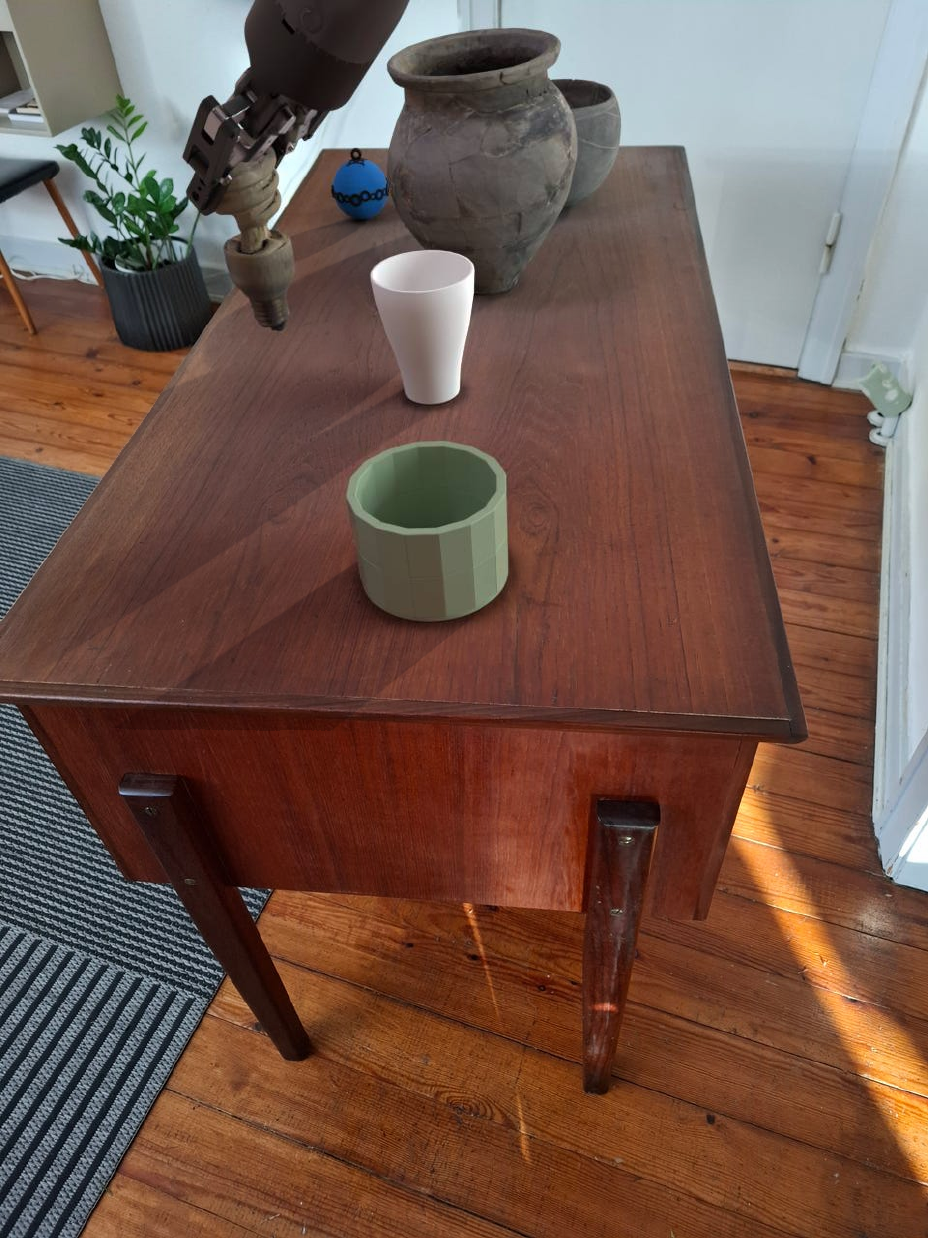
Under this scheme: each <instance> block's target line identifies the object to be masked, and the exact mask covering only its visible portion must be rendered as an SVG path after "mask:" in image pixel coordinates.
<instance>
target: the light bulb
mask: <svg viewBox="0 0 928 1238" xmlns="http://www.w3.org/2000/svg"><path fill="white" fill-rule="evenodd" d="M240 134H241V136H242V137H243V138H244V139H245V140H246V141H247V143H248V144H249V145H250V146H252V145H253V144H254V143H255V142H256V140H254V139H252V138H251V137H250V136H249V135H248V134H247V133H246V132H245V130H244V129H243V128H241V131H240ZM233 157H234V151H232V153H231V156H230V158H229V161H228V163H227V164H229V162H230V161H231V160H232V159H233ZM275 164H276V155H275V151H274V150H273V148H272V146H271V145H270V146H269V148H268V149H267V150H266V151H265V152H264V154H263V155H262V156H261V157H260V159H259V160H258V161H257V162H255V163H245V165H244V166H243V167H242V168H241V170H240V171H239V172H238V173H237V174H236V176H235V177H234V178H233V180H232V182H231V183H230V185H229V187H228V189H227V191H226V192H225V194H224V196H223V198H222V199H221V201H220V203H219V205H218V207H217V208H216V210H215V212H214V213H215V214H217V215H218V216H232V217H233V218H234V220H235V222H236V226H237V229H238V230H239V232H240V233H239V234H237V235H233V236H232V237H231V238H228V239H227V240H226V241H225V243H224V244H223V247H222V248H223V254H224V259H225V263H226V268H227V270H228V273H229V277H230V280H231V282H232V283H233V284H234V286H235V287H236V288H237V289H238V290H240V291H241V292H242V294H243V295H244V296H245V297H247V298H248V300H249V303H250V304H251V308H252V310H253V314H254V319H255V321H257V323H258V325H260V326H261V327H262V328H270V330H272V331H276V332H282V331H283V330H284V329H285V328H286V324H287V322H288V320H289V319H290V318H291V312H290V310H289V307H288V300H287V292H288V290H289V288H290V285H291V284H292V282H293V280H294V276H295V271H296V266H295V259H294V251H293V246H292V241H291V238H290V236H289V235H288V234H287V233H284V232H282V231H279V230H277V229H270V228H269V227H268V223H269V221H270V220H271V219H272V218H273V217H274V216H275V215H276V214H277V213H278V212H279V210H280V208H281V206H282V194H281V192H280V190H279V188H278V186H279V184H280V175H279V172H278V170H277V169H275V168H274V167H275Z"/></svg>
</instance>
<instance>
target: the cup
mask: <svg viewBox="0 0 928 1238" xmlns="http://www.w3.org/2000/svg"><path fill="white" fill-rule="evenodd" d="M370 282H371V287H372V293H373V297H374V301H375V305H376V308H377V312H378V315H379V317H380V321H381V323H382V326H383V330H384V332H385V335H386V337H387V339H388V341H389V344H390V347H391V349H392V352H393V354H394V357H395V359H396V363H397V365H398V369H399V371H400V374H401V380H402V384H403V388H404V393H405V396H406V398H407V399H409V400H411V402H414V403H416V404H421V405H439V404H443V403H446V402H448V401H451V400H452V399H454V398H456V396H458V395H459V393H460V390H461V372H462V371H461V368H462V362H463V356H464V350H465V345H466V340H467V335H468V331H469V326H470V322H471V315H472V306H473V302H474V301H473V299H474V294H475V293H474V266H473V264H472V262H471V261H470V260H469V259H468V258H466V257H464V256H462V255H460V254H456V253H452V252H447V251H440V250H425V249H424V250H413V251H407V252H403V253H399V254H396V255H392V256H390V257H387V258H385V259H383V260H381V261H380V262H378V263H377V264H376V265H374V267H373V269H372V270H371V271H370Z"/></svg>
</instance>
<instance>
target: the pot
mask: <svg viewBox="0 0 928 1238" xmlns="http://www.w3.org/2000/svg"><path fill="white" fill-rule="evenodd" d="M347 484H348V485H347V490H346V493H345V500H346V505H347V511H348V512H347V513H348V517H349V522H350V528H351V534H352V539H353V545H354V551H355V557H356V561H357V567H358V574H359V579H360V580H361V583H362V587H363V590H364V591H365V594H366V595H367V597H368V598H369V599H370V600H371V602H372V603H373V604H374V605H376V606H377V607H378V608H380V609H381V610H383V611H384V612H386V613H388V614H389V615H392V616H395V617H398V618H401V619H404V620H408V621H415V622H427V623H428V622H442V621H443V622H445V621H450V620H454V619H458V618H462V617H464V616H467V615H470V614H472V613H475V612H476V611H479V610H480V609H482V608H484V607H485V606H487V605H488V604H489V603H491V602H492V601H493V600H494V599H495V598H496V597H497V596H498V595H499V594H500V592H501V591H502V590H503V588H504V586H505V584H506V583H507V579H508V576H509V538H508V537H509V535H508V534H509V533H508V499H507V498H508V497H507V496H508V495H507V493H508V492H507V473H506V472H505V471H504V469H503V468H502V466H501V465H500V464H499V462H498V461H497V460H496V459H495V457H493V456H492V455H490V454H488V453H486V452H484V451H482V450H481V449H478V448H476V447H475V446H472V445H467V444H462V443H458V442H453V441H446V440H435V441H434V440H432V441H431V440H429V441H414V442H410V443H406V444H403V445H398V446H394V447H390V448H386V449H385V450H383V451H381V452H380V453H378V454H376V455H374V456H372V457H370V458H369V459H366V460H365V461H363V463H362V464H361V465H360V466H359V467H358V468H357V469H356V470H355V471H354V473H352V475H350V477H349V479H348V483H347Z"/></svg>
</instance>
